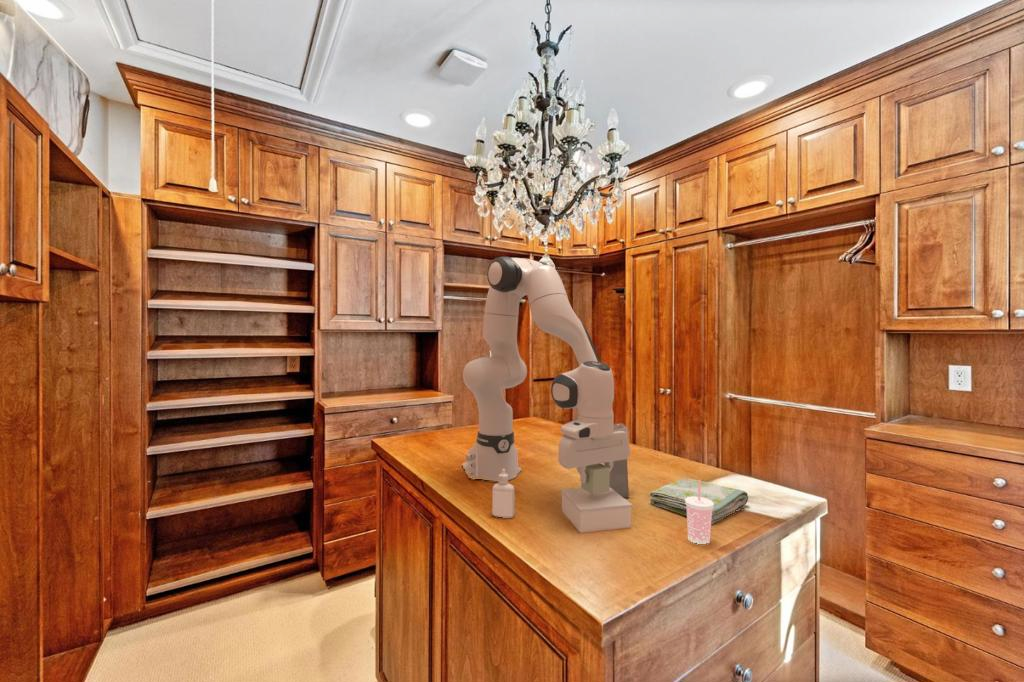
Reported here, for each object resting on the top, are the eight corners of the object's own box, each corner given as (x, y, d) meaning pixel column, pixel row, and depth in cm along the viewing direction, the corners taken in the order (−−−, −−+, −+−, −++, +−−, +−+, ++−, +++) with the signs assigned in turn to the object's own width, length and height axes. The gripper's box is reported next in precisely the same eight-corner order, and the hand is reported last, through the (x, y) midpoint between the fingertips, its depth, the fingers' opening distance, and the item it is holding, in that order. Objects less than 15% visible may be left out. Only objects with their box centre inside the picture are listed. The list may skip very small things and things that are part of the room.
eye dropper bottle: (506, 521, 112) (506, 473, 111) (489, 515, 115) (489, 469, 115) (517, 516, 115) (517, 469, 115) (500, 510, 119) (500, 465, 118)
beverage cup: (678, 535, 105) (679, 476, 104) (701, 532, 106) (702, 474, 106) (695, 548, 99) (696, 485, 98) (719, 545, 100) (720, 483, 100)
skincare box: (629, 498, 127) (629, 443, 127) (603, 496, 129) (604, 441, 128) (627, 488, 136) (628, 436, 135) (603, 486, 137) (604, 435, 137)
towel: (646, 505, 123) (646, 487, 123) (688, 488, 137) (688, 472, 136) (709, 528, 109) (710, 508, 109) (749, 507, 122) (750, 489, 122)
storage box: (560, 511, 119) (561, 489, 119) (607, 507, 122) (607, 485, 122) (580, 534, 106) (580, 509, 105) (631, 528, 109) (632, 504, 109)
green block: (581, 487, 115) (581, 464, 114) (596, 484, 117) (597, 462, 117) (593, 494, 110) (593, 470, 110) (609, 491, 112) (609, 467, 112)
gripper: (619, 420, 121) (618, 471, 121) (555, 427, 111) (554, 482, 112) (635, 424, 115) (635, 478, 115) (569, 432, 106) (569, 490, 106)
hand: (595, 480), depth 114 cm, fingers closed on green block, 5 cm apart
